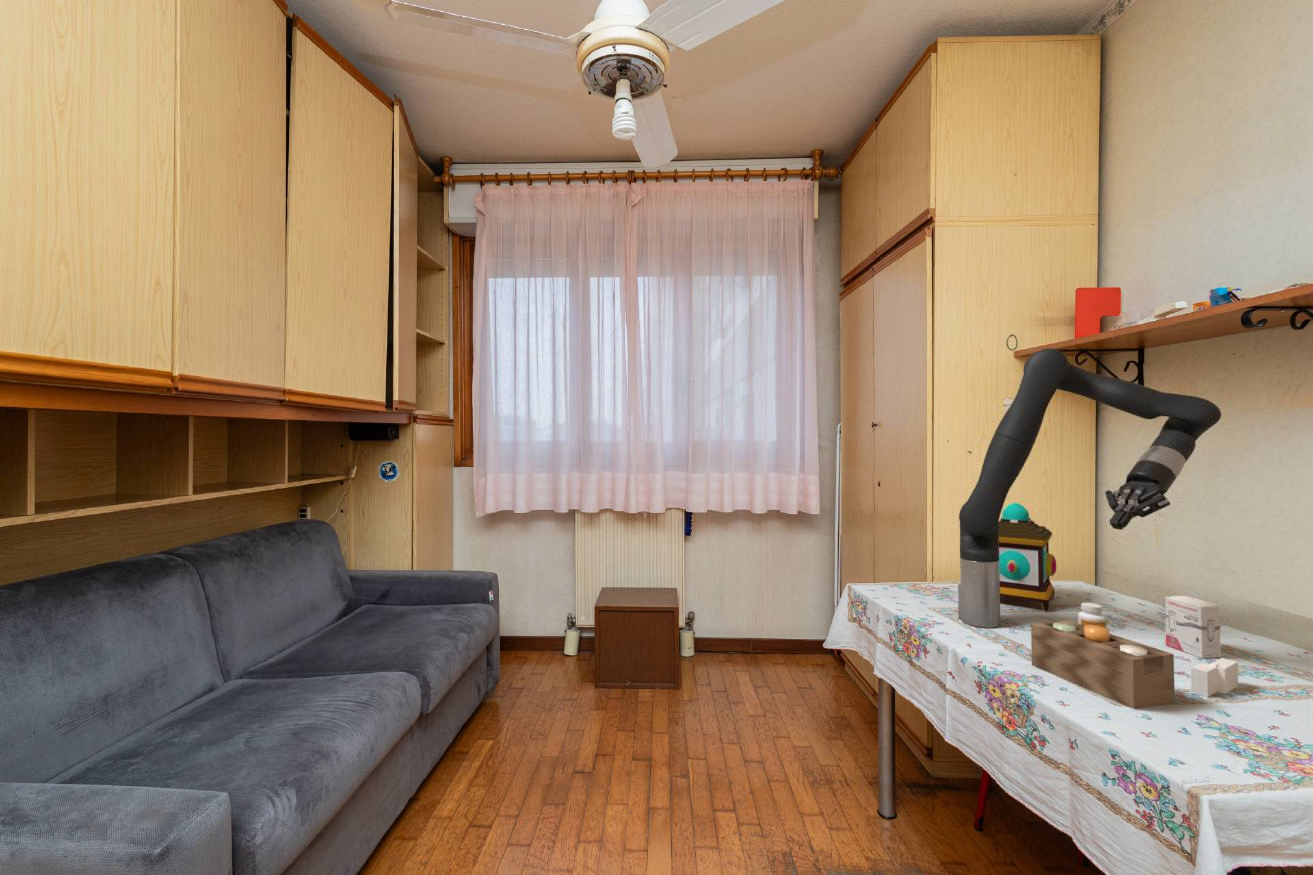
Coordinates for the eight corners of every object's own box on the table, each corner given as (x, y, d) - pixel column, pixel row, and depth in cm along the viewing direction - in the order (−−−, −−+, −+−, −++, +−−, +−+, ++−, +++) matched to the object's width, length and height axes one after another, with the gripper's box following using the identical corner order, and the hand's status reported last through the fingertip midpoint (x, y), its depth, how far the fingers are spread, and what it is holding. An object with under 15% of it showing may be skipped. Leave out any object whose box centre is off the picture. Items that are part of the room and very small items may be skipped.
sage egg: (1048, 637, 122) (1048, 623, 122) (1063, 635, 123) (1062, 621, 123) (1065, 643, 118) (1065, 629, 118) (1080, 641, 119) (1080, 627, 119)
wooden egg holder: (1031, 664, 123) (1030, 623, 123) (1067, 660, 125) (1067, 619, 125) (1133, 708, 102) (1132, 659, 103) (1174, 702, 105) (1173, 654, 105)
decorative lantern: (973, 602, 170) (971, 503, 171) (986, 588, 186) (984, 498, 186) (1053, 614, 157) (1051, 508, 158) (1060, 599, 173) (1058, 501, 173)
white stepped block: (1230, 681, 115) (1229, 653, 115) (1282, 707, 103) (1281, 676, 103) (1147, 676, 117) (1147, 649, 117) (1189, 702, 106) (1189, 671, 106)
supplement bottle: (1112, 650, 131) (1111, 608, 131) (1086, 648, 132) (1085, 607, 132) (1098, 642, 136) (1098, 602, 136) (1073, 640, 137) (1073, 601, 137)
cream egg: (1114, 661, 109) (1114, 645, 109) (1130, 659, 110) (1130, 643, 110) (1136, 669, 105) (1136, 653, 105) (1153, 666, 106) (1152, 651, 106)
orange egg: (1079, 640, 115) (1079, 625, 115) (1094, 638, 116) (1094, 623, 116) (1099, 647, 111) (1098, 632, 112) (1114, 645, 112) (1114, 630, 112)
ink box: (1164, 645, 134) (1162, 595, 134) (1182, 644, 134) (1181, 594, 134) (1202, 658, 125) (1201, 605, 125) (1222, 657, 125) (1221, 605, 125)
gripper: (1116, 458, 133) (1076, 511, 130) (1180, 459, 120) (1138, 519, 117) (1134, 479, 134) (1095, 533, 131) (1199, 483, 122) (1157, 543, 119)
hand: (1115, 526), depth 124 cm, fingers closed
